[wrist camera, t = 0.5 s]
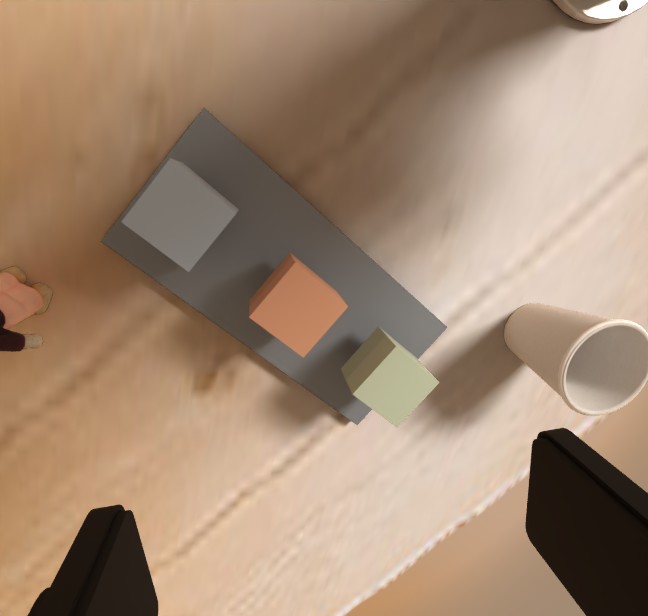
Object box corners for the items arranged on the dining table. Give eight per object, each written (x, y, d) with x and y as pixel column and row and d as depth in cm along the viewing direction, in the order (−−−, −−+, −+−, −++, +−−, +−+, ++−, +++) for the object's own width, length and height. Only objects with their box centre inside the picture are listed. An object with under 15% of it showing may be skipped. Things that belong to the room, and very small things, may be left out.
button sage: (378, 326, 36) (396, 346, 31) (417, 358, 37) (439, 382, 33) (340, 368, 36) (352, 394, 32) (380, 399, 38) (397, 427, 33)
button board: (205, 110, 32) (200, 102, 29) (441, 323, 40) (458, 335, 37) (106, 239, 33) (90, 245, 30) (354, 418, 42) (362, 438, 39)
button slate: (183, 162, 30) (170, 158, 25) (239, 209, 31) (236, 213, 27) (140, 216, 30) (121, 221, 26) (197, 260, 32) (188, 272, 27)
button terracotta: (289, 252, 33) (295, 262, 28) (336, 290, 34) (348, 306, 30) (249, 299, 33) (249, 317, 29) (297, 335, 35) (303, 357, 30)
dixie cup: (547, 372, 44) (627, 423, 35) (479, 358, 42) (545, 408, 33) (579, 299, 42) (673, 332, 33) (509, 281, 40) (588, 310, 31)
